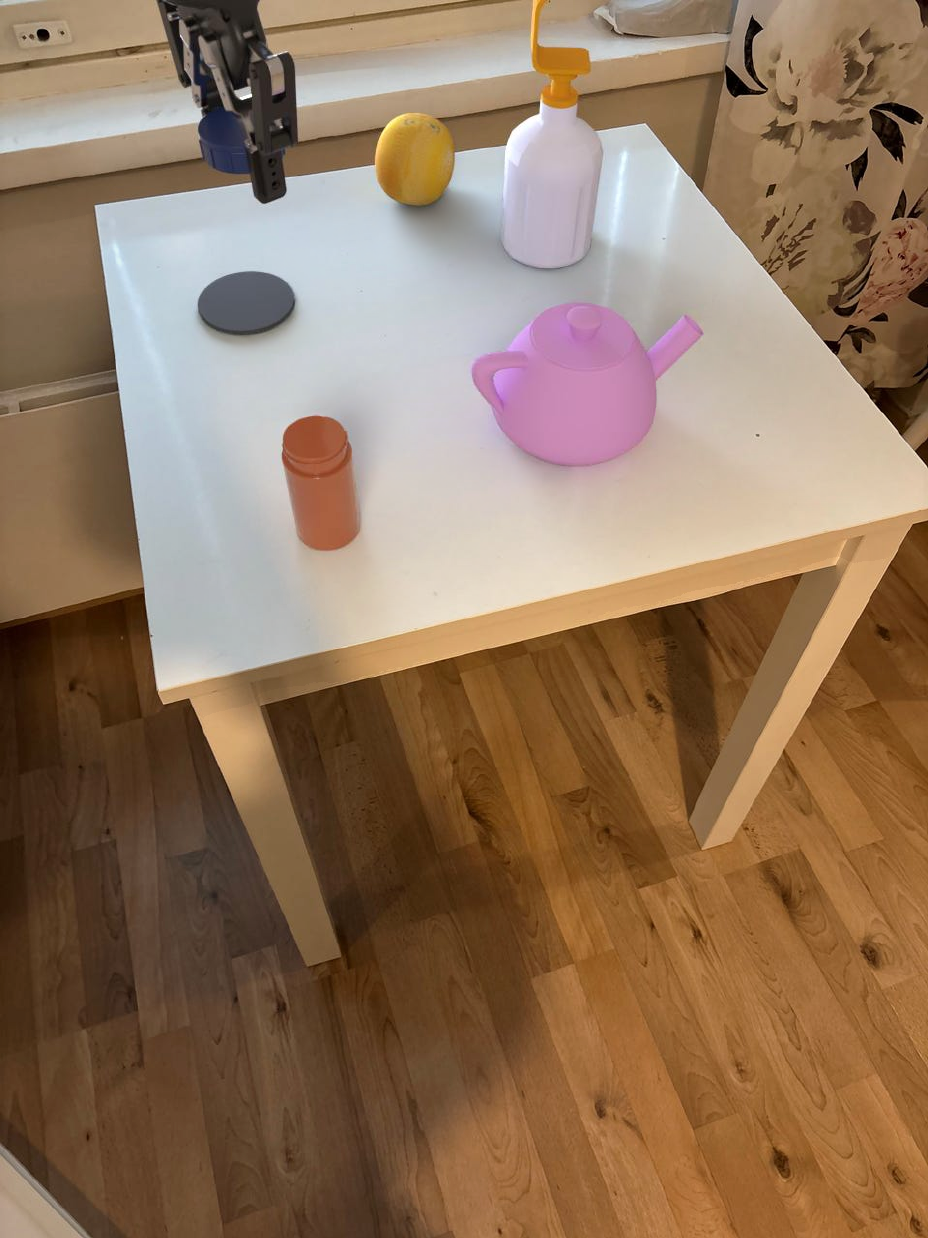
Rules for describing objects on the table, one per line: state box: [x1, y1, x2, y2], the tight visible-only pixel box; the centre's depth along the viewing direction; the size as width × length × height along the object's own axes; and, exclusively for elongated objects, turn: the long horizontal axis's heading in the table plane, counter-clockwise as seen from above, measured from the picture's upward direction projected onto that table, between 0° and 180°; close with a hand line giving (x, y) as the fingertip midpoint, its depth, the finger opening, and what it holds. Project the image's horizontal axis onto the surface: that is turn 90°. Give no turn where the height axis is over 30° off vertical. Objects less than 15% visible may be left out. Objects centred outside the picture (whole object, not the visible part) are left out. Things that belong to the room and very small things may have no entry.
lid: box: [197, 107, 287, 175], centre depth 65 cm, size 6×6×2 cm
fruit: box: [374, 112, 456, 207], centre depth 97 cm, size 9×8×8 cm
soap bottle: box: [500, 0, 604, 269], centre depth 86 cm, size 9×9×25 cm
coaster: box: [197, 270, 296, 336], centre depth 90 cm, size 9×9×1 cm
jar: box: [281, 414, 361, 552], centre depth 70 cm, size 5×5×10 cm
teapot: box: [470, 302, 705, 467], centre depth 77 cm, size 14×20×11 cm
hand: (248, 176), depth 67 cm, fingers closed on lid, 5 cm apart
